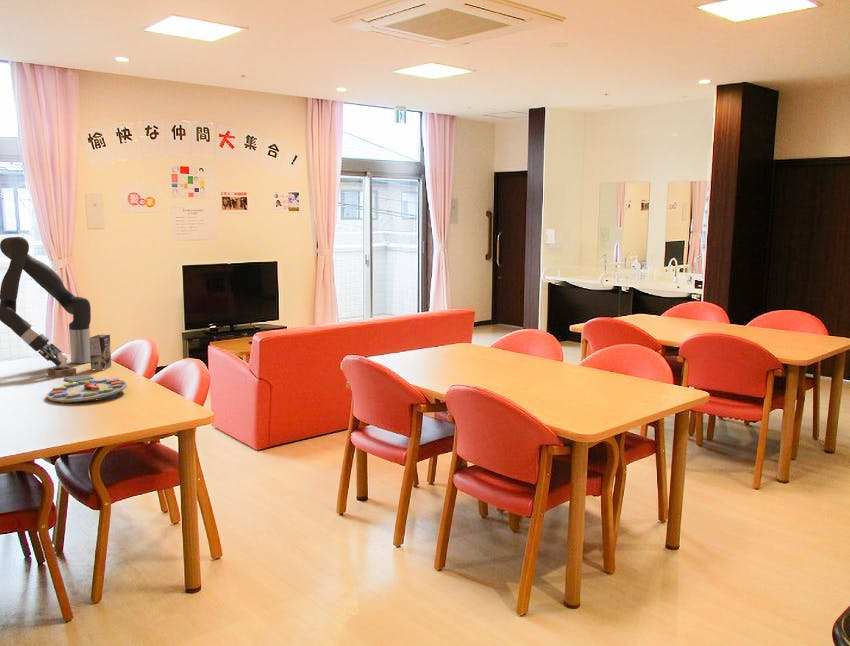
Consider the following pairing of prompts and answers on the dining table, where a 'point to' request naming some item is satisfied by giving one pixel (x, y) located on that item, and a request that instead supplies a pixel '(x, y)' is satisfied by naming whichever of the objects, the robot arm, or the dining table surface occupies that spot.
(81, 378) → the slate tile
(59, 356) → the metal cylinder
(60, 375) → the pocket block
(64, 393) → the shape sorting clock
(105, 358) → the coffee box
